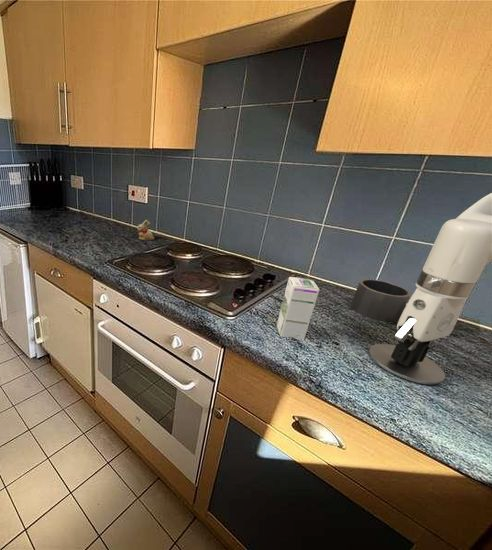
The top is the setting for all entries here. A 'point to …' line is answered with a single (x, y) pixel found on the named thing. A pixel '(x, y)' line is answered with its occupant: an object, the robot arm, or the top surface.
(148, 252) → the top surface
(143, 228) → the chocolate bunny
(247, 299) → the top surface
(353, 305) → the canister
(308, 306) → the syrup box
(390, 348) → the canister lid
